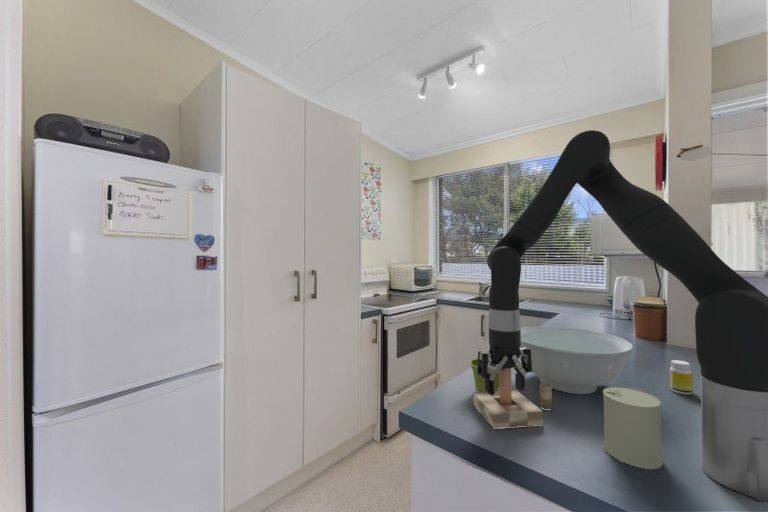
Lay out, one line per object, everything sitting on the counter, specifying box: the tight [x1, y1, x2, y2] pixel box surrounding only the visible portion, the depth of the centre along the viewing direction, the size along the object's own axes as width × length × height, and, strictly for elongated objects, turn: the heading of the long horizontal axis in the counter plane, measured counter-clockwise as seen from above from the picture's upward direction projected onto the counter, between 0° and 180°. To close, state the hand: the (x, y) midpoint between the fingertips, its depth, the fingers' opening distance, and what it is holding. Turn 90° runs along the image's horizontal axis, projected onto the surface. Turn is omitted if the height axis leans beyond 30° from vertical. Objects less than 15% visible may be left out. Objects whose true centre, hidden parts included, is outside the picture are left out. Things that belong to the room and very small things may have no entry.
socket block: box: [472, 389, 544, 428], centre depth 79 cm, size 12×12×4 cm
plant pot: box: [469, 358, 499, 392], centre depth 92 cm, size 9×9×9 cm
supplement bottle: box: [669, 359, 693, 395], centre depth 91 cm, size 5×5×8 cm
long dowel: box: [499, 368, 512, 406], centre depth 79 cm, size 3×3×12 cm
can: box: [602, 386, 664, 471], centre depth 63 cm, size 9×9×12 cm
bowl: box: [518, 326, 634, 395], centre depth 98 cm, size 32×32×15 cm
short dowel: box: [539, 382, 553, 410], centre depth 82 cm, size 3×3×6 cm
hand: (505, 391), depth 79 cm, fingers open, 8 cm apart
